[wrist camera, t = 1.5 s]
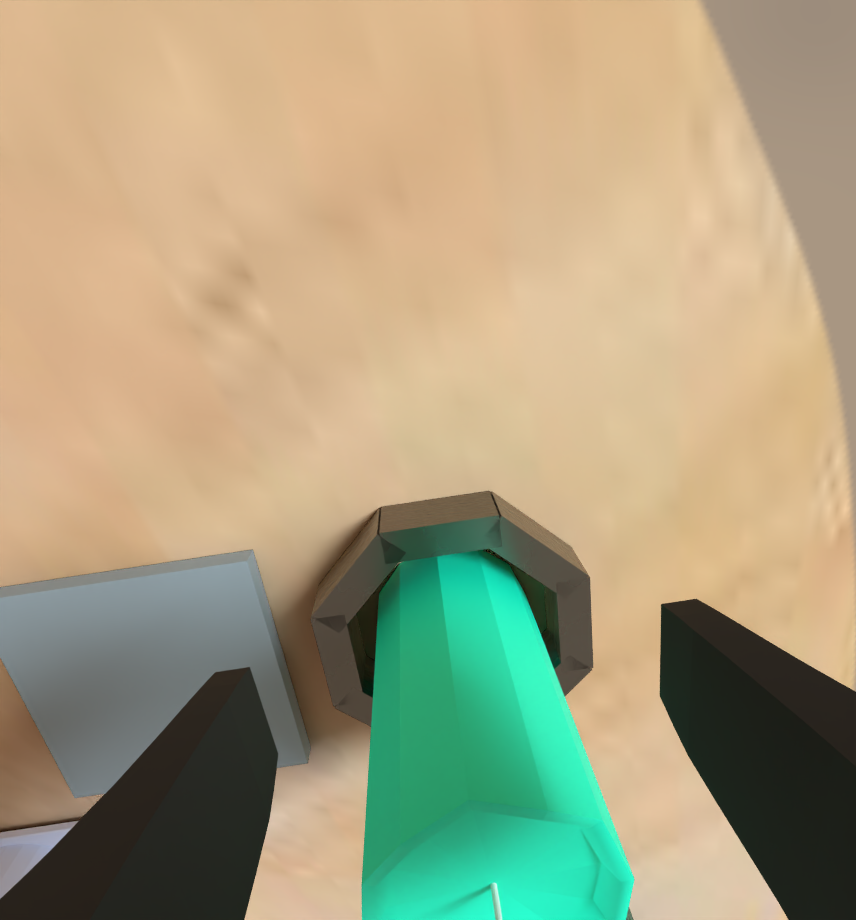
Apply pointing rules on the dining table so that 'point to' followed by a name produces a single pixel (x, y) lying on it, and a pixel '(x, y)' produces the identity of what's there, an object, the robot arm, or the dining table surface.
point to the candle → (478, 761)
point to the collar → (438, 534)
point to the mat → (140, 658)
